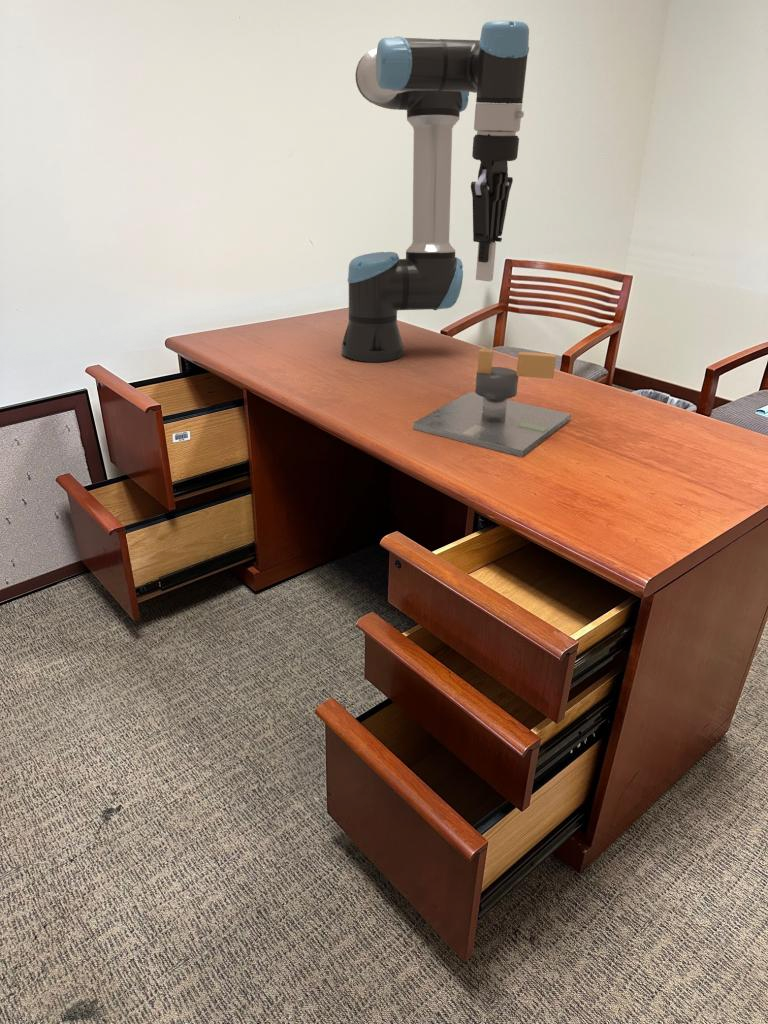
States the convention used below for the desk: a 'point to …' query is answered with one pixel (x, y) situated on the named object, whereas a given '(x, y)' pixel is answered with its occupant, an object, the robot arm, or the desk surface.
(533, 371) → the cap
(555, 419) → the post plate
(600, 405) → the desk surface
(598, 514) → the desk surface
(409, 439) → the desk surface
